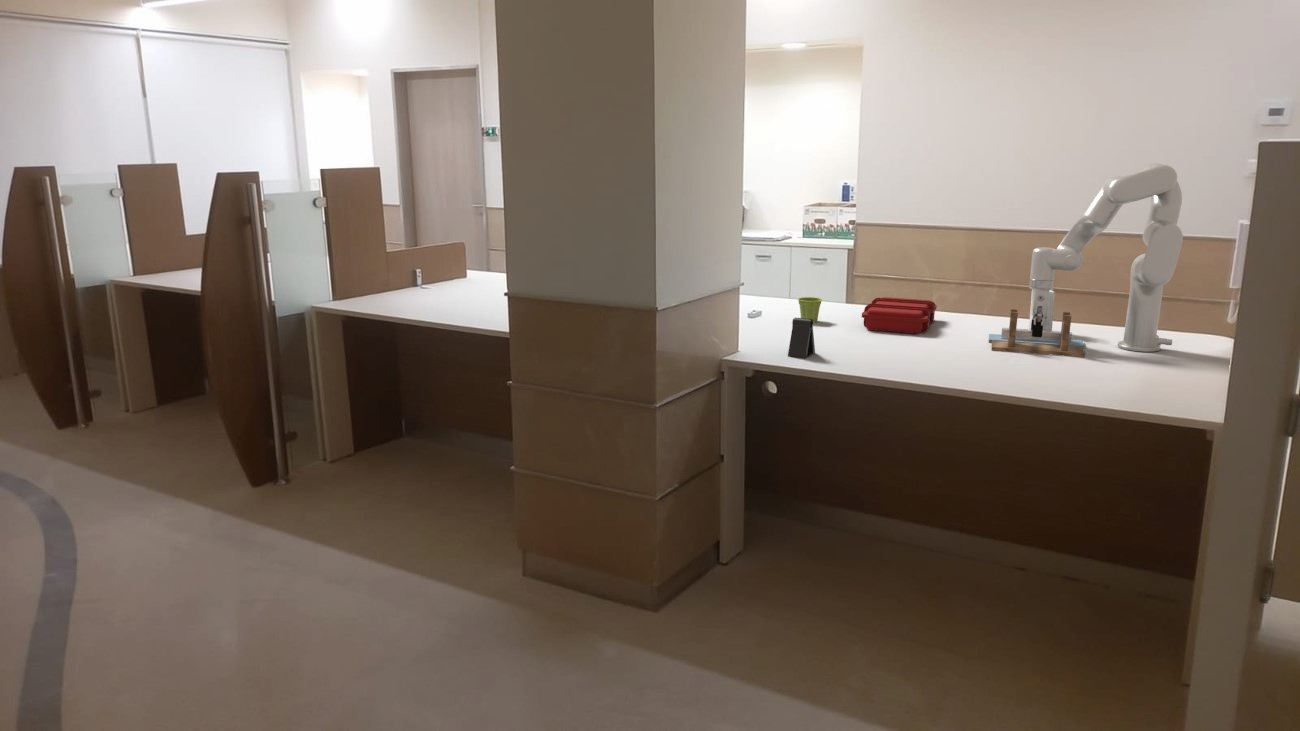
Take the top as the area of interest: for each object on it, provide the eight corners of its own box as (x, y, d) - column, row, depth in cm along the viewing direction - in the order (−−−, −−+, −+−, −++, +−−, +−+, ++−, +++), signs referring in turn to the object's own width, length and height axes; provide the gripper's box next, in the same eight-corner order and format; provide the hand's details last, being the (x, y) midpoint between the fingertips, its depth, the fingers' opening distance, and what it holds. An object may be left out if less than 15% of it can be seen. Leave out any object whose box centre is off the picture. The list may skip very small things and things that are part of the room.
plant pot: (791, 320, 347) (792, 298, 345) (811, 318, 352) (812, 296, 349) (806, 324, 339) (807, 302, 337) (826, 322, 344) (827, 299, 341)
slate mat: (1082, 342, 308) (1082, 340, 307) (1084, 349, 299) (1084, 346, 298) (988, 336, 318) (989, 333, 318) (988, 342, 309) (988, 339, 309)
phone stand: (805, 358, 288) (806, 322, 285) (787, 356, 291) (788, 320, 288) (815, 353, 295) (816, 317, 292) (798, 350, 298) (799, 315, 295)
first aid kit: (875, 315, 357) (876, 294, 355) (936, 320, 348) (938, 298, 346) (859, 331, 329) (860, 308, 327) (924, 336, 319) (926, 313, 317)
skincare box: (1051, 335, 319) (1056, 292, 315) (1031, 334, 321) (1036, 291, 317) (1046, 330, 327) (1051, 288, 323) (1027, 330, 328) (1031, 287, 325)
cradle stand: (1081, 350, 297) (1086, 312, 294) (1084, 357, 288) (1089, 318, 285) (991, 343, 307) (995, 307, 303) (991, 350, 298) (995, 312, 294)
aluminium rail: (1070, 341, 306) (1071, 332, 305) (1071, 343, 303) (1072, 334, 302) (1001, 336, 313) (1002, 327, 312) (1001, 338, 310) (1002, 329, 309)
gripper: (1055, 288, 294) (1049, 339, 298) (1052, 281, 310) (1046, 329, 314) (1030, 287, 297) (1025, 338, 301) (1028, 280, 312) (1023, 328, 317)
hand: (1036, 333), depth 307 cm, fingers open, 9 cm apart
